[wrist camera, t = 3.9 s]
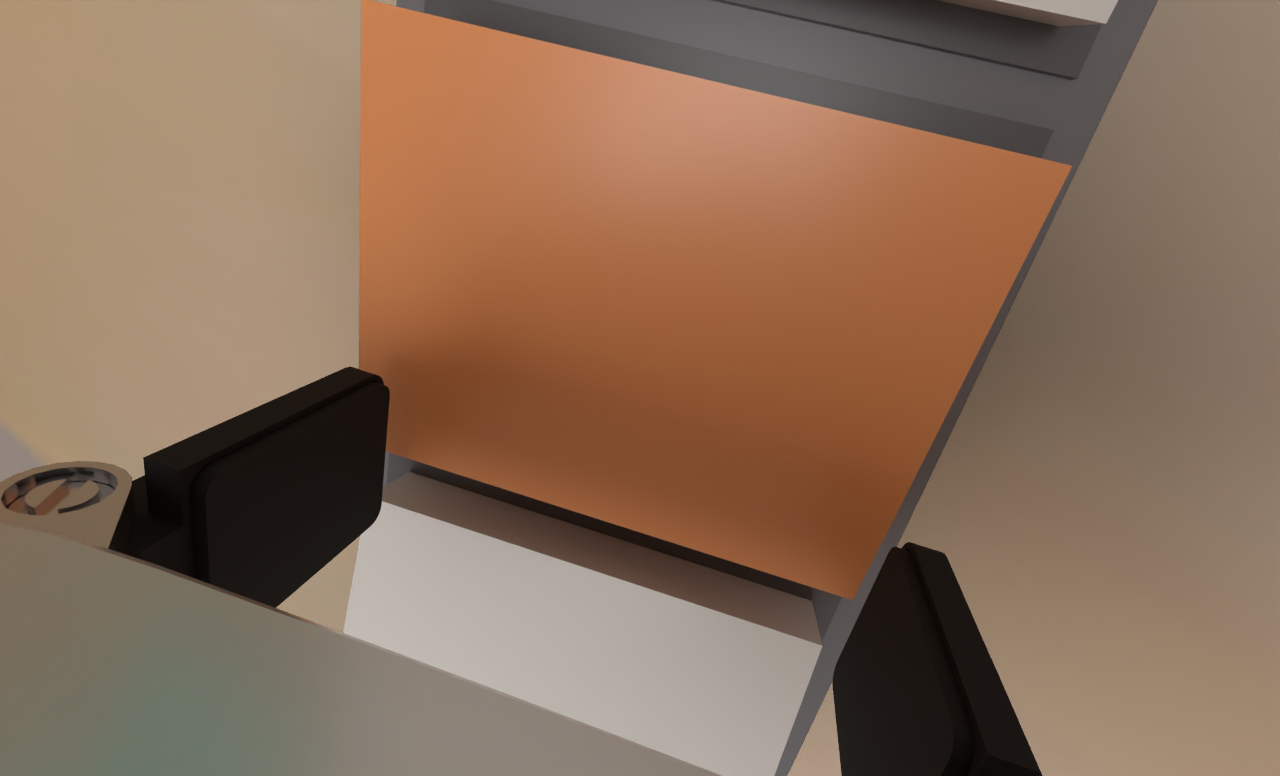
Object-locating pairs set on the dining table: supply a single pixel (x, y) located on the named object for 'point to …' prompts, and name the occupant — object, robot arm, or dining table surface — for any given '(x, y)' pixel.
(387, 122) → the rocker middle orange
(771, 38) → the long grey tray
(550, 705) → the rocker far grey
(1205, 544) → the dining table surface
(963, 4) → the rocker near grey
